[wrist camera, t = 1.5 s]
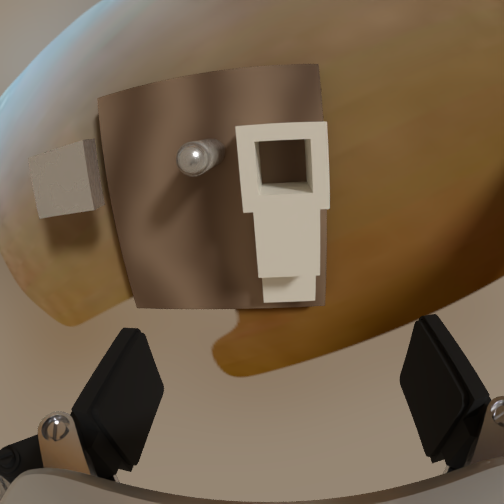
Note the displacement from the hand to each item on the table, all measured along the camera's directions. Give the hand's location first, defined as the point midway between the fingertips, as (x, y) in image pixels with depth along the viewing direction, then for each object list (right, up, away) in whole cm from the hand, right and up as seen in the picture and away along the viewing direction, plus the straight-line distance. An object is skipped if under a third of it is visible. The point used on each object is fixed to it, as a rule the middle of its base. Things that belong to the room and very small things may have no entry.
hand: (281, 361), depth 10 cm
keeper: (-15, +11, +14) cm, 23 cm away
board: (-4, +8, +14) cm, 17 cm away
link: (+2, +6, +12) cm, 14 cm away
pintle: (-4, +11, +11) cm, 16 cm away
